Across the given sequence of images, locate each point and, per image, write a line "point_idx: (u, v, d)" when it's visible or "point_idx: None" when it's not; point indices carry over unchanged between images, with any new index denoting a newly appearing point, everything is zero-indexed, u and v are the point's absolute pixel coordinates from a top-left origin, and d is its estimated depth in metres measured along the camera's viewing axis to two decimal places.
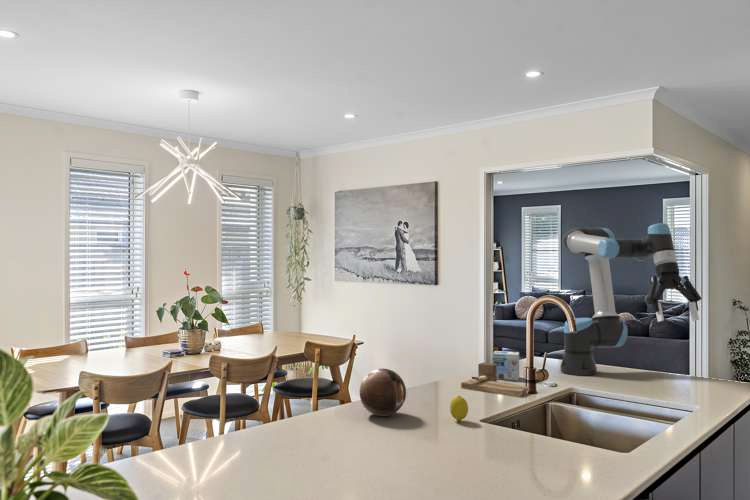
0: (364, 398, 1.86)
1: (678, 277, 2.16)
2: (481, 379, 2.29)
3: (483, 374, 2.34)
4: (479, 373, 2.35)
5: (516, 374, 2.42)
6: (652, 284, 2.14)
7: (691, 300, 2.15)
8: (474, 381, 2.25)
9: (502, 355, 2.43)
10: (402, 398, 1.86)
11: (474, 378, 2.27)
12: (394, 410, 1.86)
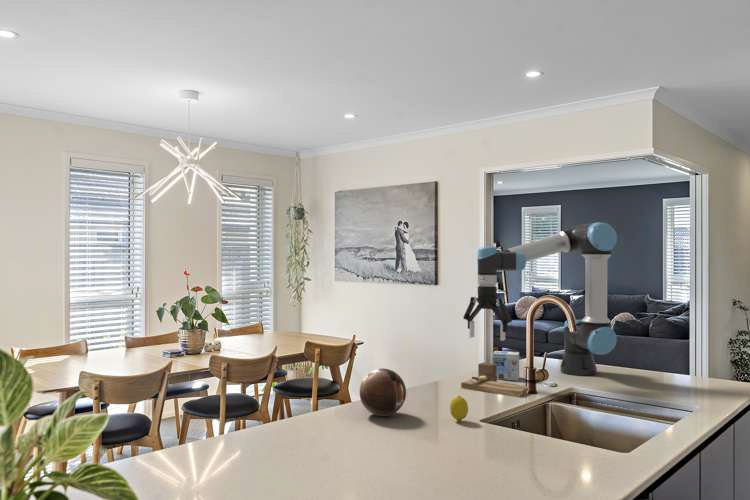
0: (364, 398, 1.86)
1: (492, 299, 2.33)
2: (481, 379, 2.29)
3: (483, 374, 2.34)
4: (479, 373, 2.35)
5: (516, 374, 2.42)
6: None
7: None
8: (474, 381, 2.25)
9: (502, 355, 2.43)
10: (402, 398, 1.86)
11: (474, 378, 2.27)
12: (394, 410, 1.86)
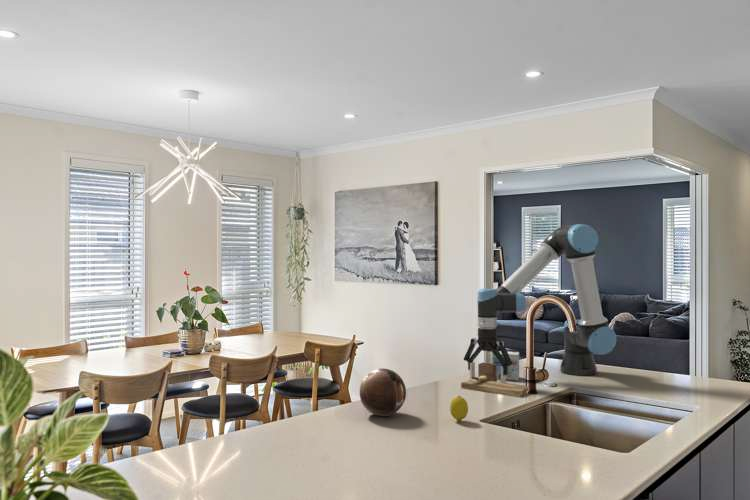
0: (364, 398, 1.86)
1: (492, 342, 2.32)
2: (481, 379, 2.29)
3: (483, 374, 2.34)
4: (479, 373, 2.35)
5: (516, 374, 2.42)
6: None
7: None
8: (474, 381, 2.25)
9: (502, 355, 2.43)
10: (402, 398, 1.86)
11: (474, 378, 2.27)
12: (394, 410, 1.86)
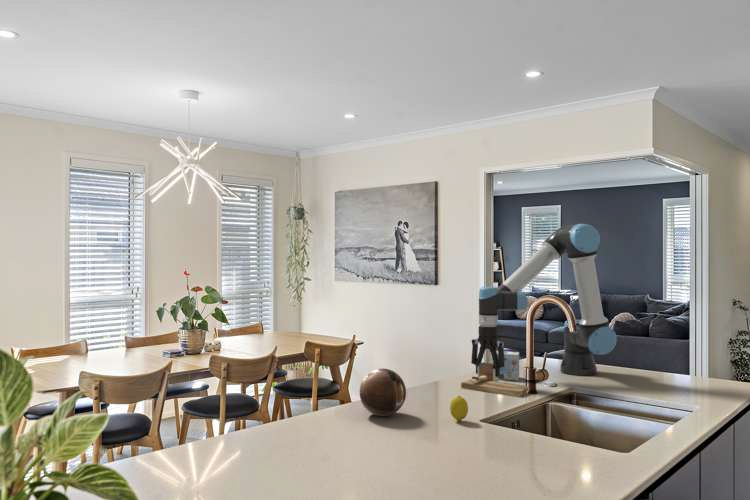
0: (364, 398, 1.86)
1: (493, 340, 2.32)
2: (481, 379, 2.29)
3: (483, 374, 2.34)
4: (480, 373, 2.35)
5: (516, 374, 2.42)
6: None
7: None
8: (474, 381, 2.25)
9: None
10: (402, 398, 1.86)
11: (474, 378, 2.27)
12: (394, 410, 1.86)
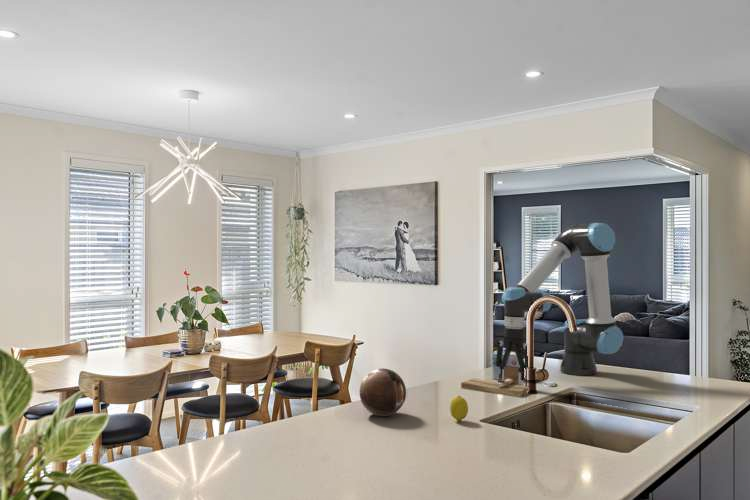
0: (364, 398, 1.86)
1: (520, 342, 2.25)
2: (507, 382, 2.22)
3: (509, 377, 2.27)
4: (504, 376, 2.28)
5: None
6: None
7: None
8: (500, 384, 2.18)
9: (502, 355, 2.43)
10: (402, 398, 1.86)
11: (500, 381, 2.20)
12: (394, 410, 1.86)
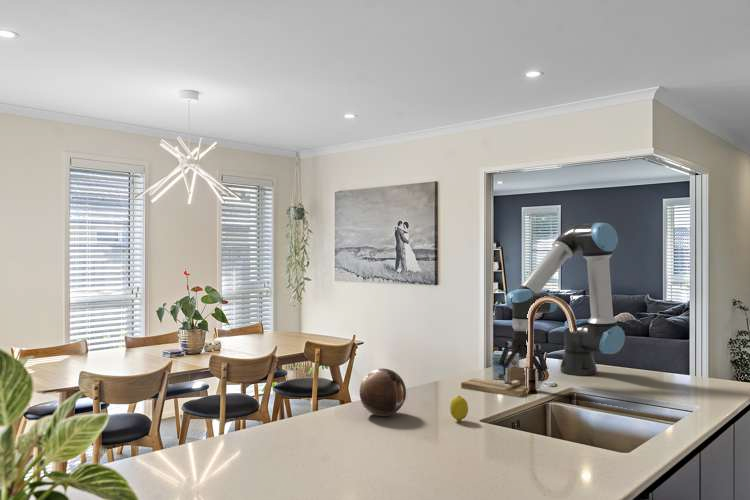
0: (364, 398, 1.86)
1: None
2: (514, 384, 2.20)
3: (515, 379, 2.25)
4: (511, 377, 2.26)
5: None
6: None
7: None
8: (507, 386, 2.17)
9: None
10: (402, 398, 1.86)
11: (507, 383, 2.18)
12: (394, 410, 1.86)
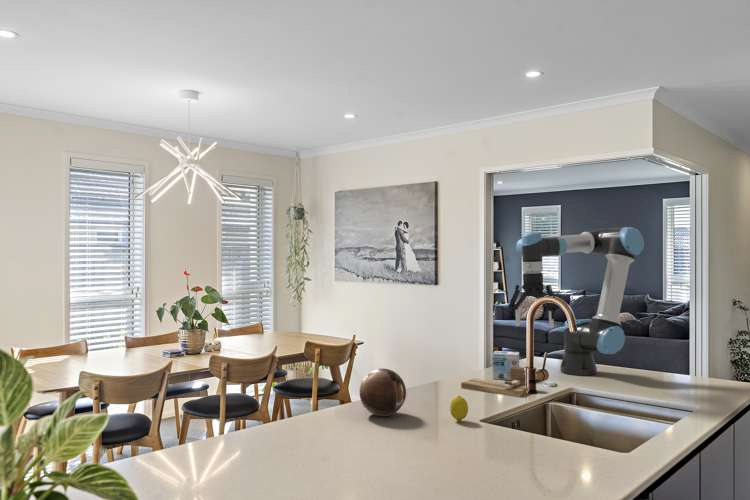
0: (364, 398, 1.86)
1: (539, 286, 2.27)
2: (514, 384, 2.20)
3: (515, 379, 2.25)
4: (511, 377, 2.26)
5: None
6: None
7: None
8: (507, 386, 2.17)
9: (502, 355, 2.43)
10: (402, 398, 1.86)
11: (507, 383, 2.18)
12: (394, 410, 1.86)
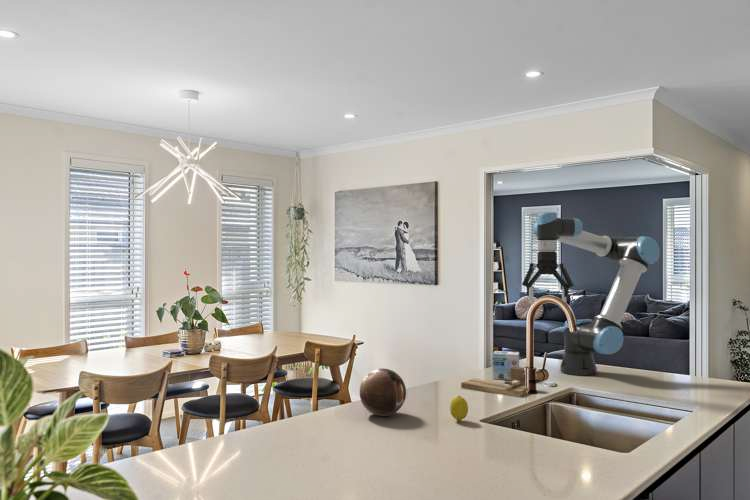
0: (364, 398, 1.86)
1: (553, 265, 2.33)
2: (514, 384, 2.20)
3: (515, 379, 2.25)
4: (511, 377, 2.26)
5: None
6: None
7: None
8: (507, 386, 2.17)
9: (502, 355, 2.43)
10: (402, 398, 1.86)
11: (507, 383, 2.18)
12: (394, 410, 1.86)
